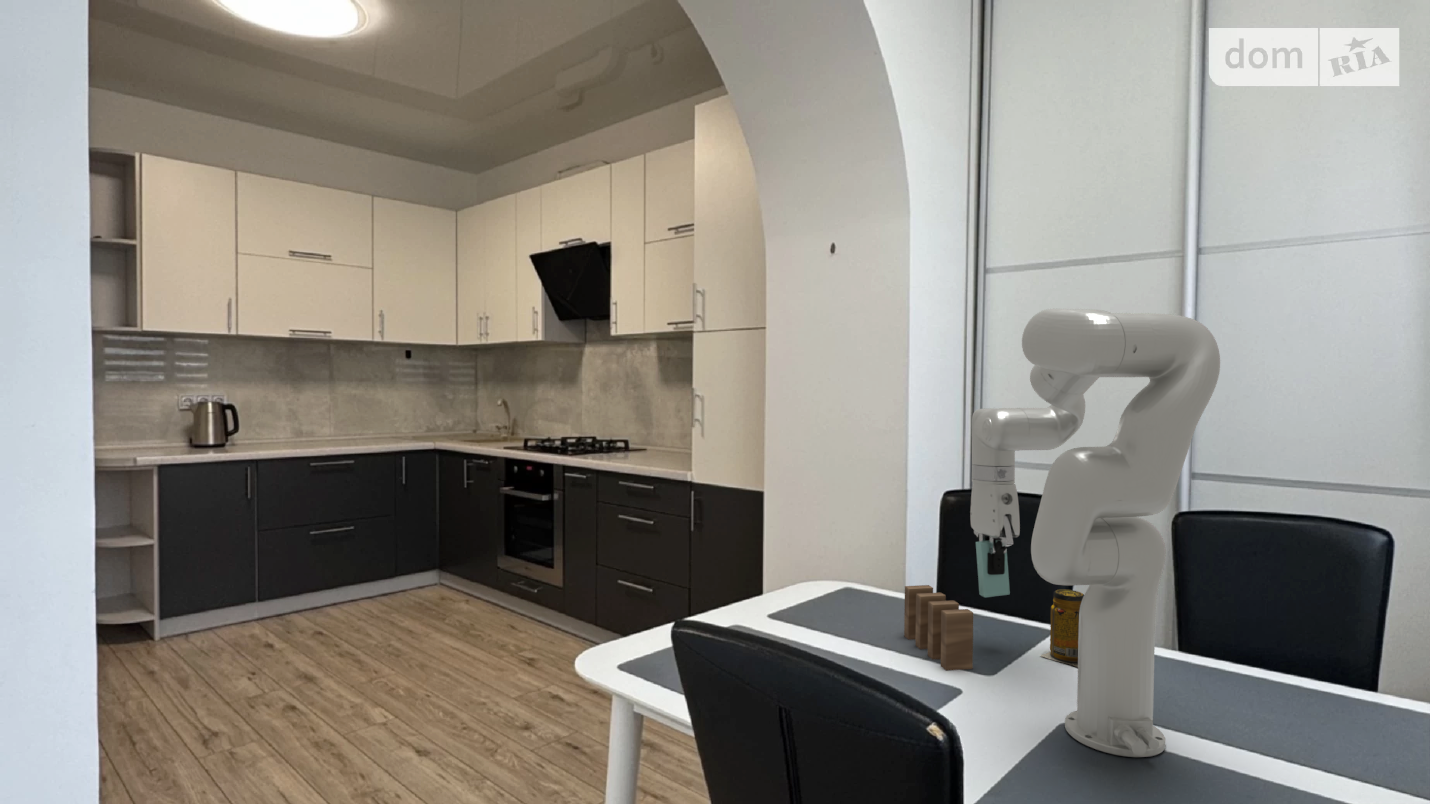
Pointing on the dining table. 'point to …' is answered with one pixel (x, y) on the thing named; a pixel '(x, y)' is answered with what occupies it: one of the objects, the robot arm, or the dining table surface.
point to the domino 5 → (990, 583)
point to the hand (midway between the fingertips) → (992, 572)
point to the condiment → (1065, 627)
